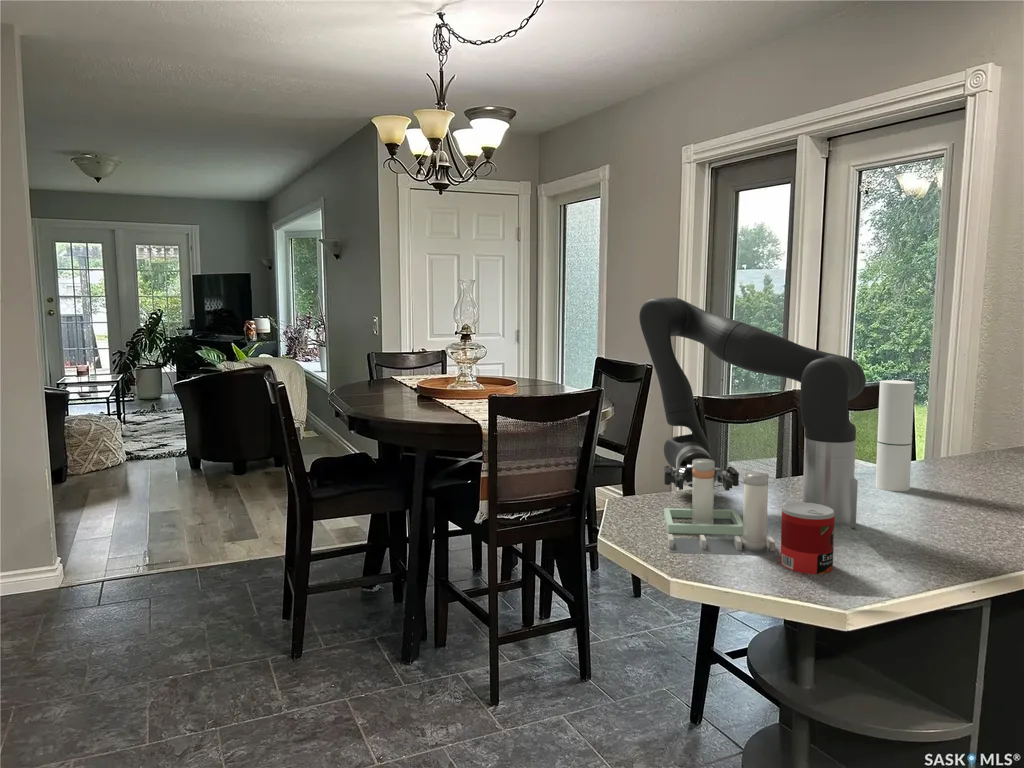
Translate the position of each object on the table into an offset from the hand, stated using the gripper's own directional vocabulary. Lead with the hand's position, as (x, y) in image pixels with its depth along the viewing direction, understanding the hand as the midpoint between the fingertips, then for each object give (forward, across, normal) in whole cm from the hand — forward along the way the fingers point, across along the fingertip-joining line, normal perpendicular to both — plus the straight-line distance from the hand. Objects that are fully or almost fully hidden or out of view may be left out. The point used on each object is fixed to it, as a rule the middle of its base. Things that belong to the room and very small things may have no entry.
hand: (704, 485), depth 139 cm
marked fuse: (-2, 0, +9) cm, 9 cm away
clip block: (+11, +2, +10) cm, 15 cm away
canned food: (+19, +14, +10) cm, 25 cm away
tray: (-2, 0, +10) cm, 10 cm away
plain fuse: (+11, +7, +8) cm, 15 cm away
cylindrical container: (-39, +48, +10) cm, 63 cm away
